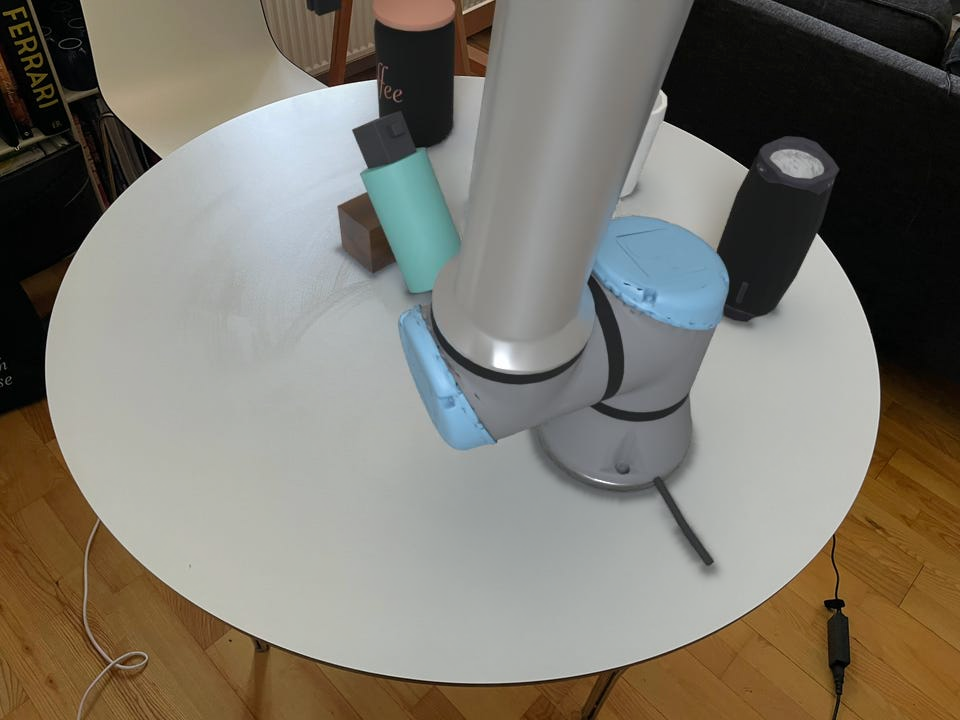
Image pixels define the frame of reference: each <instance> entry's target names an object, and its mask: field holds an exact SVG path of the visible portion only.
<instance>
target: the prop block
mask: <svg viewBox="0 0 960 720" xmlns="http://www.w3.org/2000/svg"><path fill="white" fill-rule="evenodd" d="M337 214H338V223H339V233H340V240H341V246H342V247H341V249H342V250H344V252H346V253H347V254H348V255H350V256H351V257H352V258H353V259H354V260H356V261H357V262H358V263H359V264H360V265H361V266H363V267H364V269H367V270H368V271H369V272H370V273H371V274H375V273H376V272H379V271H380V270H382V269H384V268H385V267H388V266H389V265H391V264H393V263H395V262H397V261H396V259H395V256H394V254H393V252H392V249H391V247H390V245H389V242H388V240H387V237H386V235H385V233H384V230H383V228H382V226H381V223H380V221H379V219H378V216H377V214H376V212H375V209H374V207H373V204H372V202H371V200H370V197H369V195H368V193H367V191H365V192H364V193H361V194H358V195H357V196H355V197H352V198H351V199H348V200H347V201H344V202H342V203H340V204H338V205H337Z"/></svg>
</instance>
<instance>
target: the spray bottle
mask: <svg viewBox="0 0 960 720" xmlns="http://www.w3.org/2000/svg"><path fill="white" fill-rule="evenodd" d="M351 131H352V134H353V136H354V139H355V141H356V143H357V146H358V148H359V151H360V153H361V155H362V158H363V161H364V162H365V165H366V168H365V169H363V170H362V171H361V172H359V176H360V178H361V181H362V183H363V186H364V188H365V191H366V192H367V193H368V195H369V197H370V200H371V202H372V204H373V207H374V209H375V212H376V214H377V216H378V219H379V221H380V223H381V226H382V228H383V230H384V233H385V235H386V237H387V240H388V242H389V245H390V247H391V249H392V252H393V254H394V256H395V259H396V261H395V262H396V263H397V266H398V268H399V271H400V273H401V275H402V277H403V280H404V282H405V284H406V287H407V290H408V291H409V292H410V293H412V294H418V293H426V292H430V291H433V286H434V283H435V279H436V277H437V275H438V273H439V271H440V270H441V269H442V267H443V266H444V265H445V263H446V262H447V261H448V260H449V259H450V258H451V257H453V256H454V255H455V254H457V253H458V252H459V251H460V248H461V241H462V238H461V237H460V234H459V231H458V229H457V226H456V224H455V222H454V219H453V217H452V214H451V211H450V209H449V206H448V203H447V201H446V197H445V196H444V193H443V190H442V188H441V185H440V183H439V180H438V177H437V175H436V172H435V169H434V167H433V165H432V162H431V159H430V157H429V154H428V152H427V151H428V150H427V149H426V147H421V148H415V145H414V143H413V140H412V138H411V135H410V133H409V130H408V128H407V125H406V122H405V120H404V117H403V115H402V112H401V111H399V112H396V113H393V114H390V115H387V116H384V117H381V118H379V117H378V118H376V119H373V120H371V121H368V122H366V123H364V124H362V125H359V126H357V127H354V128H352V129H351Z"/></svg>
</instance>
